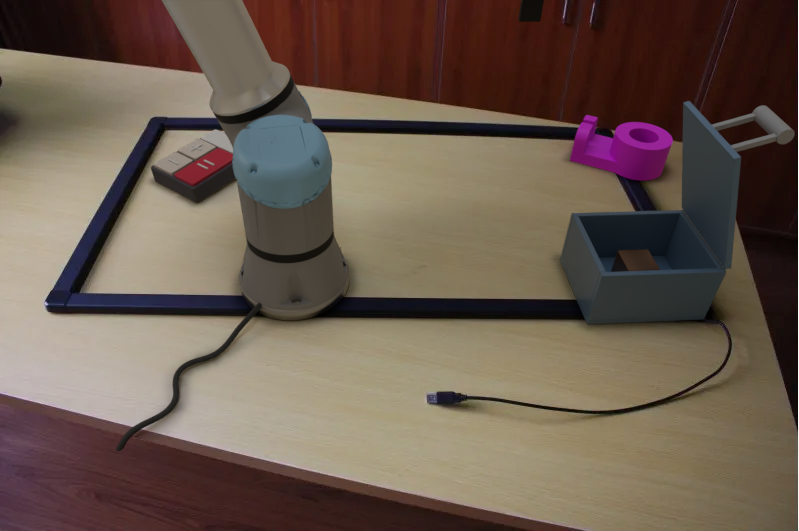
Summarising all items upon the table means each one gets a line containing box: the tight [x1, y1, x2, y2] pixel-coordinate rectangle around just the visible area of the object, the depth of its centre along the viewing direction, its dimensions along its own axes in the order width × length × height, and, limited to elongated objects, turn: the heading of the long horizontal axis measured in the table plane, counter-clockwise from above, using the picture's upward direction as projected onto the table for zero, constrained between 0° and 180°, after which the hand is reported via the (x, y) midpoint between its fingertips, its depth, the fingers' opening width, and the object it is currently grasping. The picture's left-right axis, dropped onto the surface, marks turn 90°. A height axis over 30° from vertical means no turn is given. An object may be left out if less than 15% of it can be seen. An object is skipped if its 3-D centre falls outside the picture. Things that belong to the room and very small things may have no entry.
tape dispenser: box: [569, 114, 674, 182], centre depth 117 cm, size 16×10×6 cm, turn 63°
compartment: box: [559, 209, 727, 325], centre depth 90 cm, size 17×14×9 cm
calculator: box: [150, 129, 237, 204], centre depth 111 cm, size 11×4×15 cm
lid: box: [681, 100, 795, 270], centre depth 81 cm, size 17×14×9 cm
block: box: [611, 249, 660, 272], centre depth 91 cm, size 4×4×4 cm
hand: (517, 2), depth 87 cm, fingers open, 13 cm apart
